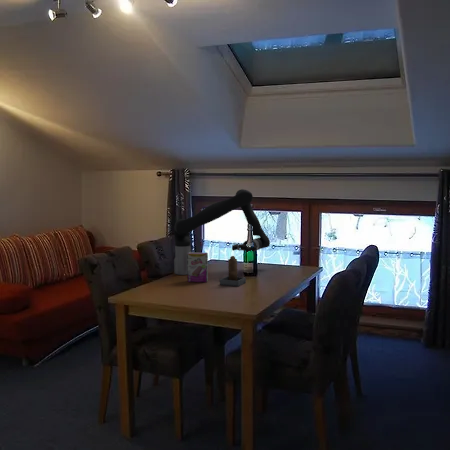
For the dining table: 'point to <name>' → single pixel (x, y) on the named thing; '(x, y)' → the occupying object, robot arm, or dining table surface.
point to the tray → (232, 283)
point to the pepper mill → (232, 268)
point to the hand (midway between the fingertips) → (239, 249)
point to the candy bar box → (197, 267)
